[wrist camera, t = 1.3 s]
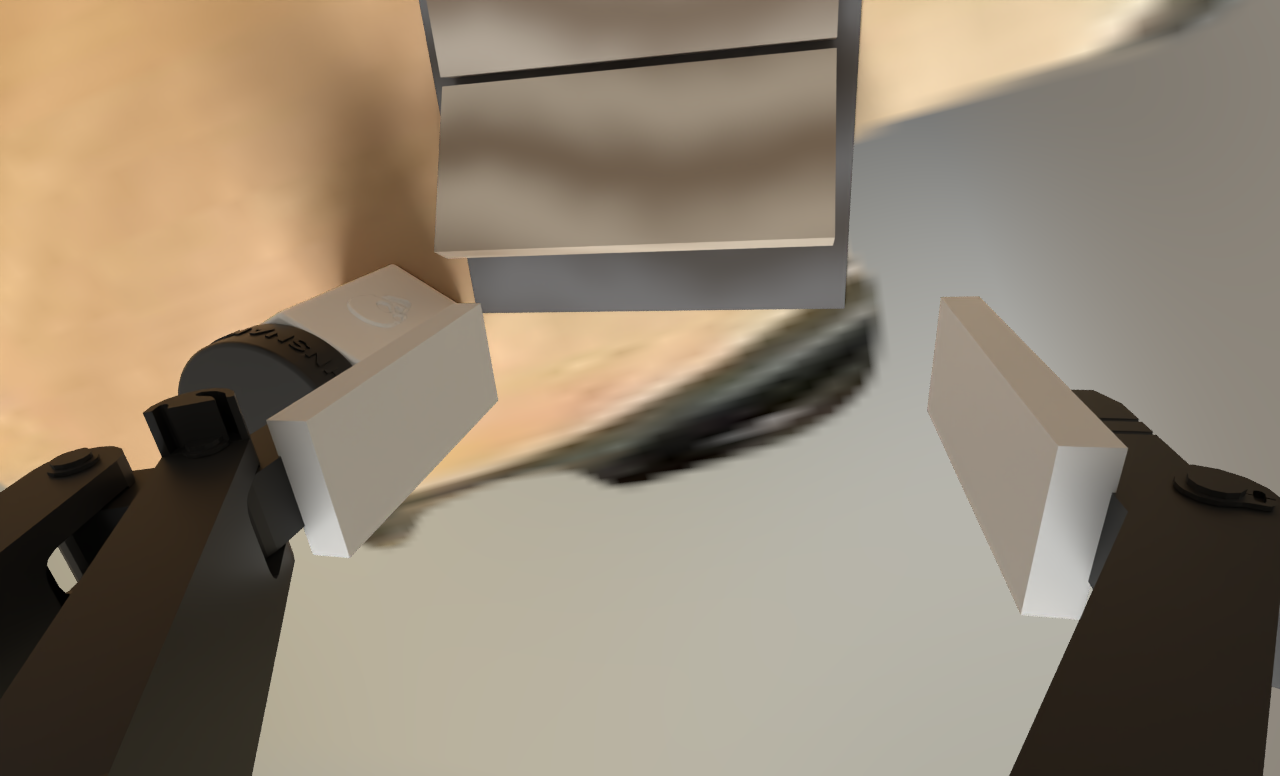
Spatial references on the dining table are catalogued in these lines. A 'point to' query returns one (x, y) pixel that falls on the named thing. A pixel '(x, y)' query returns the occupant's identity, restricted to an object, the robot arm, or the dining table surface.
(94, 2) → the dining table surface
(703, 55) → the grey flat panel
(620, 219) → the plank
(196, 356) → the jar
